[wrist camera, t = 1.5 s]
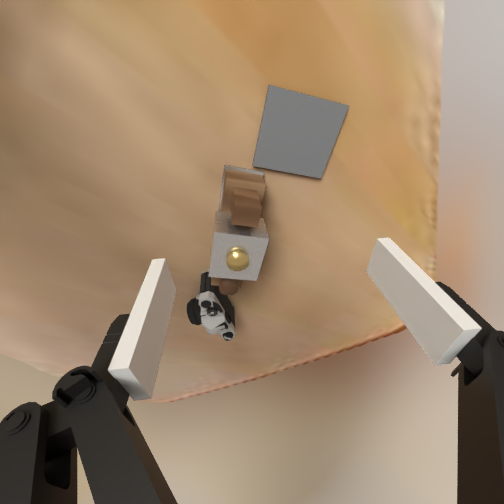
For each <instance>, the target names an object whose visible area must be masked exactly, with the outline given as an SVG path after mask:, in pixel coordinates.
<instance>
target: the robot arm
mask: <svg viewBox="0 0 504 504" xmlns="http://www.w3.org/2000/svg"><path fill="white" fill-rule="evenodd" d="M366 272H367V273H368V275H369V276H370V277H371V279H372V280H373V282H374V283H375V284H376V286H377V287H378V288H379V290H380V291H381V293H382V294H383V295H384V297H385V298H386V299H387V301H388V302H389V304H390V305H391V306H392V308H393V309H394V310H395V312H396V313H397V315H398V316H399V317H400V319H401V320H402V321H403V323H404V324H405V326H406V327H407V328H408V330H409V331H410V332H411V334H412V335H413V336H414V338H415V339H416V341H417V342H418V343H419V345H420V346H421V347H422V349H423V350H424V352H425V353H426V354H427V356H428V357H429V359H430V360H431V361H432V363H433V364H434V365H439V364H448V363H451V362H452V360H453V359H454V358H455V357H456V356H457V357H458V358H459V360H460V361H461V363H460V364H459V365H458V366H457V367H456V368H455V370H454V371H453V372H452V373H451V376H453V377H454V376H455V375H456V374H457V373H458V372H459V376H458V382H459V383H458V386H459V387H458V486H457V487H458V488H457V504H504V332H503V331H497V330H495V329H494V328H493V327H492V326H491V325H490V324H489V323H488V322H486V321H485V320H484V319H483V318H482V317H481V316H480V315H479V314H478V313H477V312H476V311H475V310H474V309H473V308H471V307H470V306H469V305H468V304H466V302H465V301H464V300H463V299H462V298H460V297H459V295H458V294H456V293H455V292H454V291H453V290H452V289H451V288H450V287H448V286H446V285H444V284H443V283H441V282H434V281H433V280H432V279H431V278H430V277H429V276H428V275H427V274H426V273H425V272H424V271H423V270H422V269H421V268H420V267H419V266H418V265H417V264H416V263H415V262H414V261H412V260H411V259H410V258H409V257H408V256H407V255H406V254H405V253H404V252H403V251H402V250H401V249H400V248H399V247H398V246H397V245H396V244H395V243H394V242H393V241H392V240H391V239H390V238H379V239H377V240H376V243H375V246H374V249H373V252H372V255H371V258H370V261H369V264H368V267H367V270H366ZM175 295H176V287H175V284H174V281H173V279H172V276H171V273H170V270H169V267H168V264H167V261H166V259H165V258H163V259H152V262H151V264H150V267H149V269H148V272H147V274H146V277H145V279H144V282H143V284H142V287H141V289H140V292H139V294H138V296H137V299H136V301H135V304H134V306H133V309H132V311H131V314H124V315H119V316H118V317H117V318H116V319H115V320H114V321H113V323H112V324H111V326H110V328H109V330H108V332H107V336H105V338H104V341H103V344H102V345H101V347H100V349H99V351H98V353H97V356H96V358H95V360H94V362H93V364H92V366H91V367H89V366H80V367H76V368H75V369H73V370H71V371H69V372H68V373H66V374H65V375H64V376H63V377H62V378H61V379H60V380H59V381H58V383H57V384H56V385H55V388H54V390H53V395H52V399H53V400H54V401H52V402H50V403H47V404H45V405H43V406H41V405H39V404H37V403H36V402H28V403H25V404H22V405H20V406H19V407H17V408H15V409H14V410H12V411H11V412H10V413H9V414H8V415H7V416H6V417H5V418H4V419H3V420H2V421H1V423H0V504H77V448H78V451H79V454H80V457H81V461H82V464H83V467H84V470H85V473H86V477H87V480H88V483H89V487H90V490H91V493H92V496H93V499H94V502H95V504H178V503H177V502H176V500H175V498H174V496H173V494H172V492H171V490H170V488H169V486H168V484H167V482H166V480H165V478H164V476H163V474H162V472H161V470H160V468H159V467H158V464H157V463H156V461H155V459H154V457H153V455H152V453H151V451H150V449H149V447H148V445H147V443H146V441H145V439H144V437H143V435H142V433H141V431H140V429H139V427H138V425H137V424H136V422H135V420H134V418H133V416H132V414H131V412H130V410H129V408H128V406H127V405H126V404H127V401H128V398H129V396H130V397H131V398H132V399H133V400H134V401H135V400H144V399H151V398H152V393H153V389H154V385H155V381H156V376H157V372H158V368H159V363H160V359H161V355H162V351H163V346H164V342H165V338H166V333H167V329H168V325H169V320H170V316H171V312H172V308H173V303H174V299H175Z"/></svg>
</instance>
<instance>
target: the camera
mask: <svg viewBox="0 0 504 504" xmlns="http://www.w3.org/2000/svg"><path fill="white" fill-rule="evenodd" d="M198 293H199V292H198ZM197 297H198V298H197ZM187 314H188V318H189V320H190V322H191V323H192V324H196V325H200V324H202V325H203V327H204V328H205V329H206V331H207V332H208V333H209V334H213V335H215V334H217V333H218V334H220V335H221V337H222V338H224V339H225V340H226V341H229V340H231V339H232V338H234V336H235V317H234V306H233V304H232V302H231V301H230V299H229V297H228V295H223V294H222V293H221V292H220V291H219V286H215V285H211V277H209V270H208V271H205V272H202V275H201V285H200V294H199V295H197V296H196V298H194V299H191V300H190V302H188V304H187Z"/></svg>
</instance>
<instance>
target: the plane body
mask: <svg viewBox="0 0 504 504" xmlns="http://www.w3.org/2000/svg"><path fill="white" fill-rule="evenodd" d="M263 175H264V172H261V171H256V170H250V169H245V168H239V167H234V166H228V165H225V166H224V174H223V181H222V188H221V196H220V203H219V210H218V212H222V213H229V214H231V224H234V225H241V226H249V227H257V228H258V224H259V220H260V216H261V212H262V206H261V205H262V201H263V197H264V193H265V189H266V184H265V182H264V179H263ZM241 284H242V280H239V279H227V278H215V277H211V285H215V286H219V291H220V292H221V293H222V294H223V295H233V294H235V293H236V292H237V290H238V287H241Z"/></svg>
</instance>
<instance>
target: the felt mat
mask: <svg viewBox="0 0 504 504" xmlns="http://www.w3.org/2000/svg"><path fill="white" fill-rule="evenodd" d="M348 108H349V106H348V105H344V104H340V103H337V102H333V101H329V100H325V99H321V98H317V97H314V96H310V95H306V94H302V93H298V92H294V91H291V90H287V89H283V88H279V87H275V86H271V85H269V86H268V91H267V96H266V101H265V106H264V111H263V116H262V121H261V125H260V130H259V135H258V140H257V145H256V150H255V155H254V160H253V166H256V167H261V168H267V169H272V170H277V171H283V172H288V173H294V174H299V175H304V176H310V177H315V178H322V175H323V172H324V170H325V167H326V165H327V162H328V159H329V157H330V154H331V152H332V149H333V147H334V144H335V141H336V139H337V136H338V134H339V131H340V128H341V126H342V123H343V121H344V118H345V116H346V113H347V110H348Z"/></svg>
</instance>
